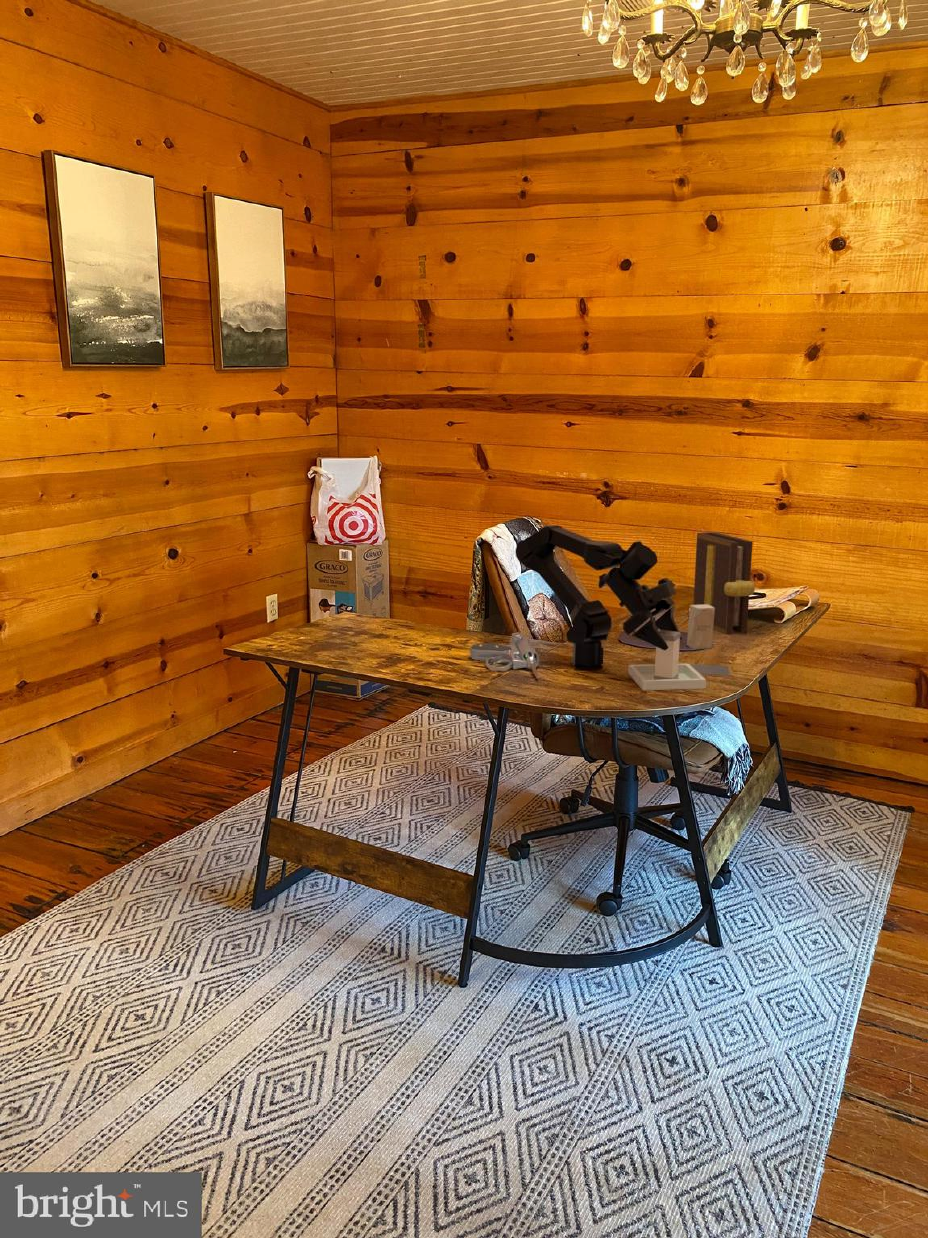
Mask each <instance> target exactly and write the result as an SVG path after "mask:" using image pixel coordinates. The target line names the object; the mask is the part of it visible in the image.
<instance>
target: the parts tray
mask: <svg viewBox="0 0 928 1238" xmlns="http://www.w3.org/2000/svg"><path fill="white" fill-rule="evenodd" d="M627 674H628V676H629V677H631V679H632V681H634V682H635V683H636V684H637V686H638V687H639V688H640V689H641V690H642V691H669V690H671V691H672V690H704V689H705V690H706V689H707V679H706V678H705V677H704V676H703V674H699V673H698V672H697V671H696V670H695V669H694V668H693V667H692V666H690V665H689V663H678V679H661V680H654V675H655V664H652V663H651V664H650V663H649V664H628V672H627Z"/></svg>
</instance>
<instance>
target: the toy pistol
mask: <svg viewBox="0 0 928 1238" xmlns="http://www.w3.org/2000/svg"><path fill="white" fill-rule="evenodd" d="M469 654H470V655H469V656H470V659H471V658H472V659H474V660H473V661H475V660H480V661H479V662H483V661H486V662H485V666H486V667H487V668H488V669H489V670H492V671H506V670H509V669H511V668H512V669H513V670H517V669H522V668H525V669H527V670H529V671H530V670H532V672H533V674H534V675H535V678H536V679H537V680H539V679H540V677H539V673H538V670H537V667H538V666H539V663H540V657H539V654H538V653H537V651H536V649H535V647H534V645H533V642H532V641H531V636H527V635H525V636H524V635H523V632H521V631H520V632H518V631H517V632H512V633H511V637H510V638H509V644H503V643H502V644H501V643H488V642H487V643H484V642H482V643H479V642H478V643H475V644H474V643H473V645H471V646H470V647H469ZM472 659H471V660H472ZM490 661H493V662H492V665H491V664H489V663H491V662H490ZM503 663H504V664H505V665H503V666H496V665H497V664H503Z"/></svg>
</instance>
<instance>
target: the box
mask: <svg viewBox="0 0 928 1238" xmlns="http://www.w3.org/2000/svg"><path fill="white" fill-rule="evenodd" d="M714 611H715V608H714V607H712V606H710V605H708V604H704V605H693V604H689V611H688V612H689V615H688V624H687V625H688V626H687V639H686V646H687V645H688V646H689V647H690V649H693V650H701V649H703V650H705V649H712V647H713V637H714V636H713V634H714V633H713V632H714V629H713V624H714ZM689 647H688V648H689Z"/></svg>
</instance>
